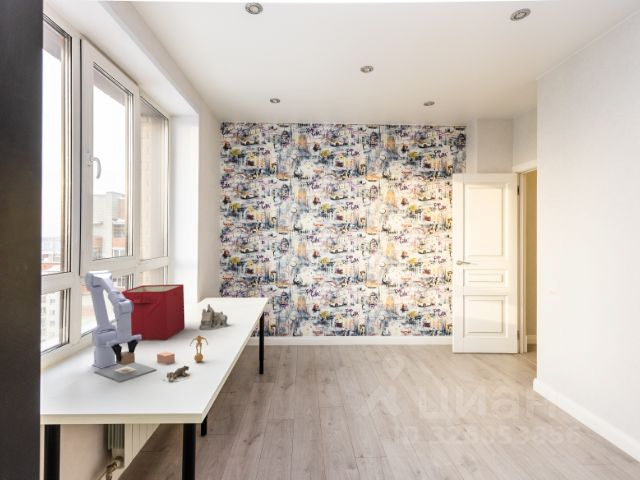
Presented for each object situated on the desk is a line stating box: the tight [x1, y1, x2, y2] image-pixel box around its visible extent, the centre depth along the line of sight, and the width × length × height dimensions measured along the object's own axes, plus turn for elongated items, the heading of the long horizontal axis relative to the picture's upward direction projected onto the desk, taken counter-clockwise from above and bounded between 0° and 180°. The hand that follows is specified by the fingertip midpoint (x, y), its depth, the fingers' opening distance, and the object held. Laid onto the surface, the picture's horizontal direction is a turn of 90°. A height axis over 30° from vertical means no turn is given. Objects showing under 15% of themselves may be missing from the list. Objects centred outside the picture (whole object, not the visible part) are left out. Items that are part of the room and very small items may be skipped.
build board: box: [94, 362, 157, 383], centre depth 166 cm, size 22×16×1 cm
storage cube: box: [121, 283, 186, 341], centre depth 230 cm, size 32×28×29 cm
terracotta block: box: [156, 351, 176, 366], centre depth 177 cm, size 7×5×4 cm, turn 55°
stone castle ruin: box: [198, 303, 229, 331], centre depth 245 cm, size 16×16×15 cm
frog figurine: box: [162, 365, 190, 384], centre depth 158 cm, size 12×12×4 cm
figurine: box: [189, 335, 209, 363], centre depth 177 cm, size 8×6×12 cm
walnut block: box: [115, 350, 136, 366], centre depth 166 cm, size 7×5×4 cm, turn 55°
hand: (125, 359), depth 166 cm, fingers closed on walnut block, 5 cm apart
